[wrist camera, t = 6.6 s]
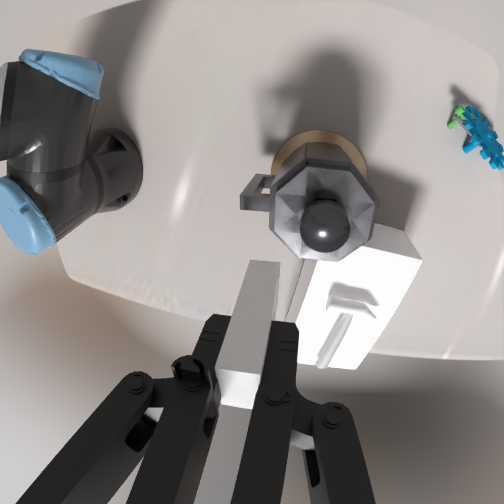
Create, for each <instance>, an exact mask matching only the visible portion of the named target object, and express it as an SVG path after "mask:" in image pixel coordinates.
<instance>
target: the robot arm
mask: <svg viewBox="0 0 504 504" xmlns="http://www.w3.org/2000/svg"><path fill="white" fill-rule="evenodd" d="M19 60H20V61H18V62H7V63H5V64H4V65H3V66H2V67H1V68H0V161H3V160H7V175H6V176H4V177H1V178H0V223H1V225H2V227H3V229H4V230H5V232H6V233H7V235H8V237H9V238H10V239H11V240H12V242H13V243H14V244H15V245H16V246H17V247H18V248H19V249H20V250H22V251H23V252H25V253H27V254H31V255H36V254H39V253H41V252H42V251H44V250H45V249H47V248H48V247H50V246H53V245H55V244H56V242H58V241H59V240H60V239H61V238H63V237H64V236H65V235H67V234H68V233H69V232H71V231H72V230H73V229H75V228H76V227H77V226H79V225H80V224H81V223H83V222H84V221H85V220H87V219H88V218H90V217H91V216H92V215H94V214H97V213H103V212H109V211H115V210H118V209H120V208H122V207H124V206H125V205H127V204H128V203H130V202H131V201H132V200H133V199H134V198H135V197H136V195H137V193H138V192H139V189H140V186H141V183H142V176H143V169H142V162H141V158H140V155H139V152H138V150H137V148H136V146H135V144H134V143H133V141H132V140H131V139H130V138H129V137H128V136H127V135H126V134H124V133H123V132H121V131H119V130H117V129H113V128H105V129H101V130H97V131H94V132H92V133H90V131H91V126H92V122H93V117H94V113H95V109H96V105H97V102H98V100H99V99H100V96H99V92H100V87H101V83H102V79H103V75H104V70H103V67H102V65H101V64H100V63H99V62H98V61H95V60H92V59H88V58H83V57H79V56H74V55H68V54H63V53H57V52H50V51H42V50H32V49H26V50H24V51H23V52H22V54H21V55H20V56H19ZM279 274H280V262H269V261H258V260H250V262H249V265H248V268H247V271H246V274H245V277H244V280H243V283H242V287H241V290H240V293H239V296H238V299H237V302H236V305H235V308H234V311H233V314H232V316H226V315H219V314H213V315H212V316H211V317H210V318H209V319H208V320H207V321H206V322H205V325H204V327H203V329H202V332H201V335H200V337H199V340H198V342H197V344H196V347H195V349H194V351H193V354H192V355H186V356H183V357H180V358H178V359H177V360H175V361H174V362H173V364H172V365H171V369H172V371H173V374H174V376H175V377H173V378H165V379H164V378H163V379H152V378H151V377H150V376H149V375H148V374H147V373H144V372H141V371H139V372H132V373H129V374H128V375H127V376H125V377H124V378H123V379H122V380H121V381H120V383H119V384H118V385H117V386H116V387H115V388H114V389H113V391H112V392H111V393H110V394H109V395H108V396H107V397H106V398H105V400H104V401H103V402H102V403H101V404H100V405H99V406H98V408H97V409H96V410H95V411H94V412H93V413H92V414H91V416H90V417H89V418H88V419H87V420H86V421H85V422H84V424H83V425H82V426H81V427H80V428H79V429H78V431H77V432H76V433H75V434H74V435H73V436H72V437H71V439H70V440H69V441H68V442H67V443H66V444H65V446H64V447H63V448H62V449H61V450H60V452H59V453H58V454H57V455H56V456H55V457H54V459H53V460H52V461H51V462H50V463H49V464H48V466H47V467H46V468H45V469H44V470H43V471H42V473H41V474H40V475H39V476H38V477H37V479H36V480H35V481H34V482H33V483H32V484H31V486H30V487H29V488H28V489H27V490H26V492H25V493H24V494H23V495H22V496H21V498H20V499H19V500H18V501H17V503H16V504H107V503H108V502H109V501H110V500H111V498H112V497H113V496H114V494H115V493H116V492H117V491H118V489H119V488H120V487H121V485H122V484H123V483H124V482H125V480H126V479H127V478H128V476H129V475H130V474H131V472H132V471H133V470H134V469H135V467H136V466H137V464H138V463H139V462H140V461H141V459H142V458H143V457H144V458H143V461H142V463H141V466H140V469H139V471H138V473H137V476H136V479H135V481H134V484H133V486H132V489H131V492H130V494H129V497H128V500H127V502H126V504H193V503H194V500H195V497H196V493H197V490H198V486H199V483H200V479H201V476H202V473H203V469H204V466H205V462H206V459H207V455H208V452H209V449H210V445H211V442H212V438H213V435H214V431H215V427H216V424H217V421H218V417H219V411H218V408H219V404H220V401H221V403H222V404H223V405H229V406H235V407H241V408H247V409H252V414H251V419H250V423H249V427H248V432H247V437H246V441H245V446H244V450H243V454H242V458H241V462H240V467H239V471H238V475H237V480H236V483H235V488H234V492H233V496H232V500H231V503H230V504H280V502H281V495H282V490H283V484H284V478H285V472H286V464H287V458H288V451H289V444H291V445H294V446H297V447H299V448H302V453H303V459H304V465H305V470H306V476H307V482H308V488H309V495H310V501H311V504H376V503H375V499H374V495H373V491H372V487H371V483H370V479H369V475H368V471H367V467H366V463H365V460H364V456H363V453H362V449H361V445H360V442H359V438H358V435H357V431H356V427H355V424H354V421H353V417H352V414H351V412H350V411H349V409H348V408H347V407H346V406H344V405H343V404H340V403H337V402H328V403H325V404H323V405H320V404H317V403H315V402H312V401H309V400H307V399H305V398H304V397H303V396H302V395H300V393H299V392H298V390H297V388H296V370H297V358H298V345H299V330H298V328H297V326H296V324H295V323H292V322H282V321H275V316H276V309H277V302H278V288H279ZM144 455H145V456H144Z"/></svg>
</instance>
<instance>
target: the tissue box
mask: <svg viewBox="0 0 504 504" xmlns="http://www.w3.org/2000/svg"><path fill="white" fill-rule="evenodd" d="M422 261H423V260H422V258H421V257H420V255H419V253H418V252H417V250H416V249H415V247H414V245H413V244H412V242H411V241H410V239H409V238H408V236H407V235H406V233H405V232H404V231H402V230H399V229H396V228H392V227H389V226H385V225H382V224H378V223H375V224H374V229H373V234H372V239H371V240H369V241H368V242H367V243H365V244H364V245H362V246H361V247H359V248H358V249H356V250H355V251H353V252H352V253H350V254H349V255H347V256H346V257H345V258H343V259H342V260H340V261H339V262H338V261H337V262H333V261H324V260H314V259H305V261H304V264H303V268H302V271H301V274H300V277H299V281H298V284H297V287H296V290H295V293H294V296H293V299H292V302H291V305H290V309H289V312H288V315H287V318H286V320H285V322H292V323H295V324H296V326H297V328H298V330H299V345H298V358H297V363H302V364H310V365H315V366H316V367H317V368H321V369H324V368H327V367H334V368H345V369H356V368H357V367H358V366H359V364H360V363H361V362H362V360H363V359H364V357H365V356H366V355H367V353H368V352H369V350H370V349H371V348H372V346H373V345H374V343H375V342H376V340H377V339H378V337H379V336H380V334H381V333H382V331H383V330H384V328H385V326H386V325H387V323H388V322H389V320H390V319H391V317H392V315H393V314H394V312H395V310H396V309H397V307H398V305H399V304H400V302H401V300H402V299H403V297H404V295H405V293H406V291H407V290H408V288H409V286H410V284H411V282H412V281H413V279H414V277H415V275H416V273H417V271H418V269H419V267H420V265H421V263H422Z"/></svg>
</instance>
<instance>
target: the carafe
mask: <svg viewBox="0 0 504 504" xmlns="http://www.w3.org/2000/svg"><path fill="white" fill-rule="evenodd" d="M263 188H269V189H270V194H261V192H262V190H263ZM317 198H327V199H335V200H336V202H337V203H338V204H339V205H340V206H342V207H343V209H344V210H345V211H346V213H347V216H348V220H349V223H350V235H349V238H348V240H347V242H346V243H345V244H344V245H343V246H342V247H341V248H339V249H338V250H336V251H333V252H328V253H322V252H317V251H314V250H312V249H310V248H309V247H308V246H307V245H306V244H305V243H304V242H303V240H302V238H301V235H300V221H301V216H302V213H303V211H304V210H305V207H306V206H308V205H309V204H310V203H311V202H313V201H314V200H315V199H317ZM378 203H379V197H378V196H377V194H376V193H375V191H374V190H373V189H372V187H371V186H370V184H369V183H368V181H367V180H366V178H365V177H364V176H363V174H362V173H361V171H360V170H359V169H358V167H357V166H356V165H355V164H354V162H353V161H352V160H351V158H350V157H349V156H348V155H347V153H346V152H345V151H344V150H343V149H342V148H341V146H339V145H335V144H330V143H326V142H305V143H304V144H303V145H302V146H300V147H298V148H297V149H296V150H294V151H293V152H292V153H291V154H290V156H289V157H288V158H287V159H285V160H284V161H283V162H282V164H281V166H280V168H279V170H278V172H277V175H265V174H256V175H255V176H254V177H253V179H252V180H251V181H250V182H249V184H248V185H247V186H246V188H245V189H244V190H243V192H242V193H241V194H240V210H253V211H265V212H270V213H269V228H270V230H271V231H272V232H273V233H274V234H275V235H276V236H277V237H278V238H279V239H280V240H281V241H282V242H283V243H284V245H285V246H286V247H287V248H288V249H289V250H290V251H291V252H292V253H293V254H294V255H295V256H296V257H298V258H304V259H314V260H324V261H333V262H337V261H338V262H339V261H340V260H342V259H343V258H345V257H346V256H347V255H349V254H350V253H352V252H353V251H355V250H356V249H358V248H359V247H361V246H362V245H364V244H365V243H367V242H368V241H369V240H371V239H372V234H373V229H374V224H375V219H376V214H377V209H378Z"/></svg>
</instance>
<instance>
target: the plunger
mask: <svg viewBox="0 0 504 504" xmlns="http://www.w3.org/2000/svg"><path fill="white" fill-rule="evenodd" d="M300 235H301V238H302V240H303V242H304V243H305V244H306V245H307V246H308V247H309V248H310V249H312V250H314V251H317V252H322V253H328V252H333V251H336V250H338V249H339V248H341V247H342V246H343V245H344V244H345V243H346V242H347V240H348V238H349V235H350V223H349V220H348V216H347V213H346V211H345V210H344V209H343V207H342V206H340V205H339V204H338V203H337V202H336V200H335V199H327V198H317V199H315V200H314V201H313V202H311V203H310V204H309V205H308V206H306V207H305V210H304V211H303V213H302V216H301V221H300Z"/></svg>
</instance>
